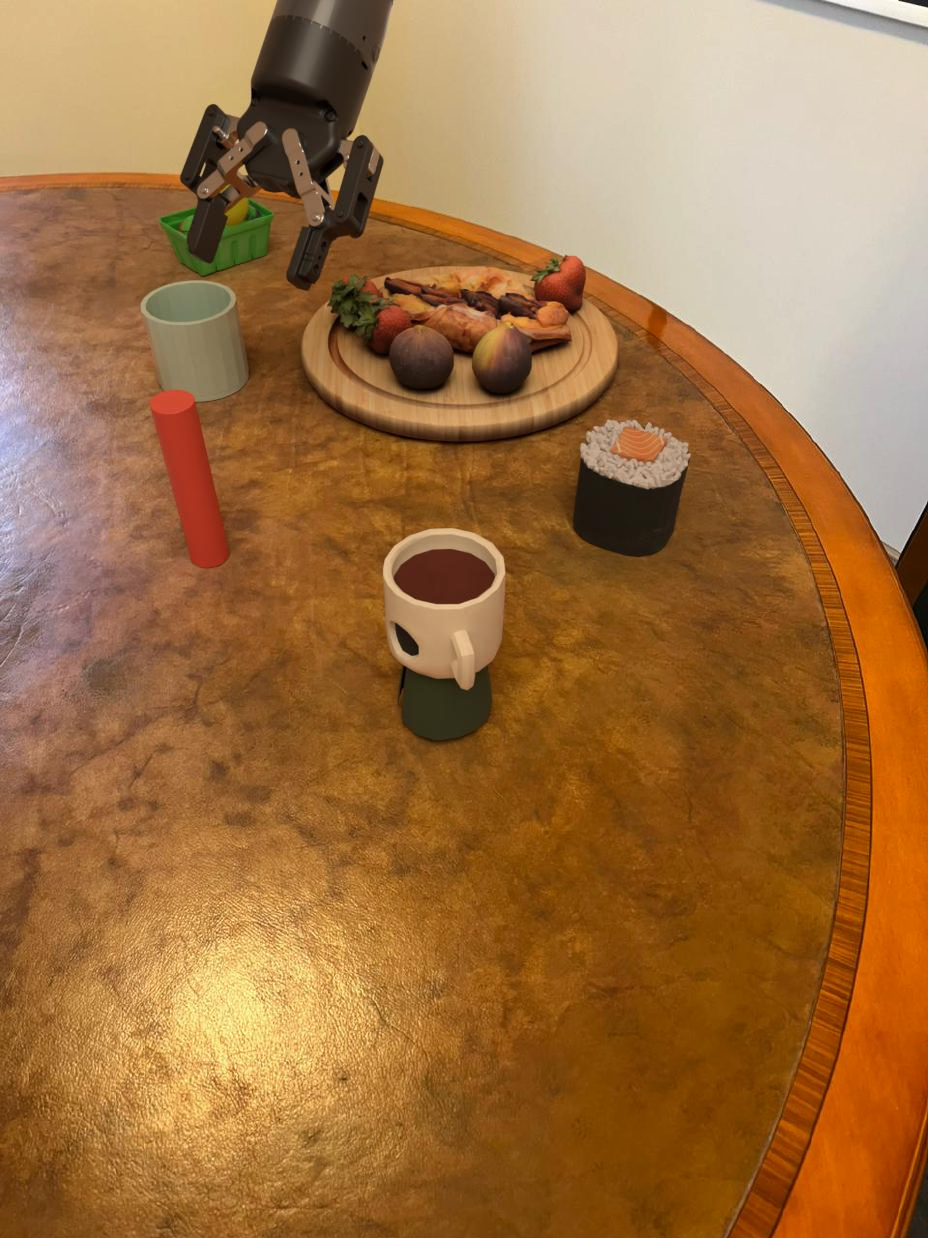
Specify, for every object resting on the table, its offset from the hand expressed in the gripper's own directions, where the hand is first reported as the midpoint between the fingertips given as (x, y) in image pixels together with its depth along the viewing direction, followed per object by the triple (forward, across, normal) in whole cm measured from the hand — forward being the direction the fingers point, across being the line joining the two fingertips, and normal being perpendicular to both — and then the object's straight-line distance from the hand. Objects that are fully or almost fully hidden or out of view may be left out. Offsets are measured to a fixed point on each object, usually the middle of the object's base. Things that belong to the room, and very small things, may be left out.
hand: (247, 271), depth 65 cm
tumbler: (+6, -17, +21) cm, 28 cm away
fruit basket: (-9, -32, +37) cm, 49 cm away
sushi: (+7, +27, +20) cm, 35 cm away
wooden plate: (-5, +3, +32) cm, 33 cm away
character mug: (+24, +24, +3) cm, 34 cm away
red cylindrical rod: (+20, 0, +7) cm, 21 cm away
